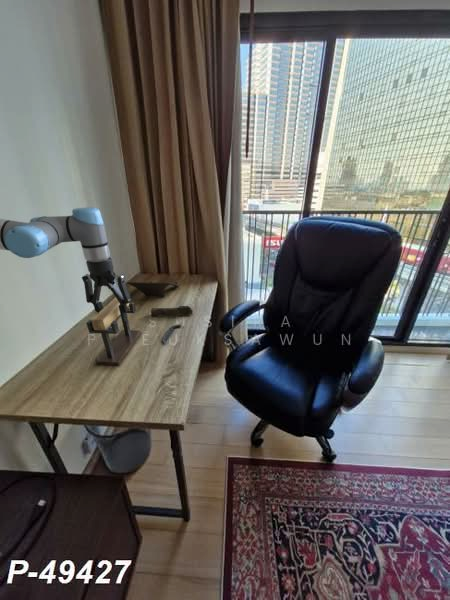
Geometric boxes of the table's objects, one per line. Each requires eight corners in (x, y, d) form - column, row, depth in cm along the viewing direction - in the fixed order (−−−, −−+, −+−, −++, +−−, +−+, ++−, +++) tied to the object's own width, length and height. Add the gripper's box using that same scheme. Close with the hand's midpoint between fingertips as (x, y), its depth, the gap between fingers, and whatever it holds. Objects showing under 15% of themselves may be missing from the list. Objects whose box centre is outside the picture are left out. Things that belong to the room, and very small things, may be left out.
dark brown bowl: (182, 297, 149) (182, 282, 149) (169, 297, 126) (170, 279, 126) (144, 296, 151) (145, 281, 151) (126, 295, 128) (126, 278, 128)
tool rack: (94, 364, 88) (82, 326, 81) (120, 332, 106) (112, 298, 99) (121, 365, 87) (110, 327, 80) (142, 333, 105) (136, 299, 98)
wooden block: (94, 332, 83) (91, 319, 81) (120, 306, 99) (117, 295, 97) (106, 332, 83) (102, 319, 80) (129, 307, 99) (127, 295, 96)
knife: (173, 324, 110) (172, 323, 110) (181, 325, 110) (181, 324, 109) (159, 343, 98) (159, 342, 98) (169, 344, 97) (168, 343, 97)
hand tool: (151, 318, 117) (149, 309, 114) (153, 313, 120) (152, 305, 118) (191, 317, 116) (190, 309, 114) (192, 313, 120) (192, 305, 118)
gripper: (134, 255, 83) (145, 315, 93) (75, 255, 85) (92, 313, 95) (123, 262, 76) (137, 325, 87) (60, 261, 78) (80, 324, 88)
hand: (113, 319), depth 91 cm, fingers open, 8 cm apart
